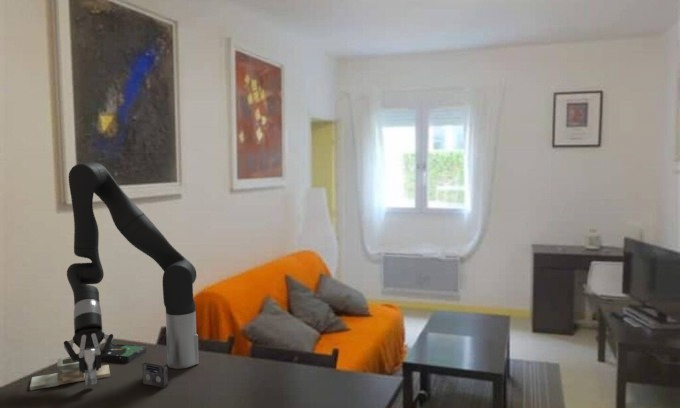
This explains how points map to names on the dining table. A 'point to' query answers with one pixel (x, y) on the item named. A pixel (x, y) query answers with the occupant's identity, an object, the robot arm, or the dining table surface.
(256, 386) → the dining table surface
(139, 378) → the dining table surface
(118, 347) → the disk drive
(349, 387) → the dining table surface
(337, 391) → the dining table surface
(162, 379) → the mini dv tape
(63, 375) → the hinge leaves
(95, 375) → the hinge pin
